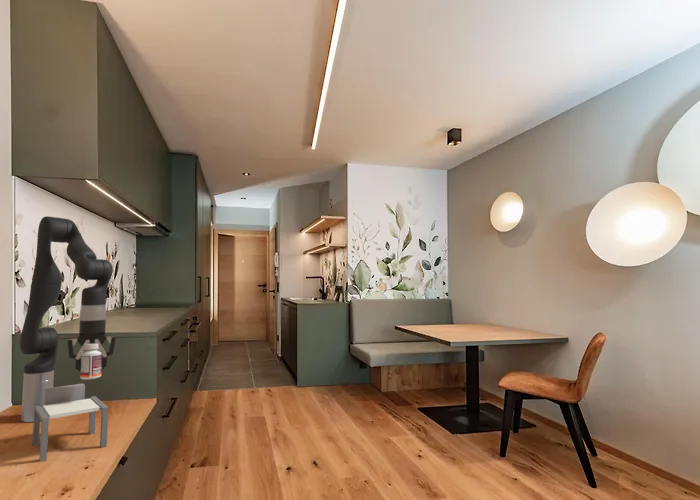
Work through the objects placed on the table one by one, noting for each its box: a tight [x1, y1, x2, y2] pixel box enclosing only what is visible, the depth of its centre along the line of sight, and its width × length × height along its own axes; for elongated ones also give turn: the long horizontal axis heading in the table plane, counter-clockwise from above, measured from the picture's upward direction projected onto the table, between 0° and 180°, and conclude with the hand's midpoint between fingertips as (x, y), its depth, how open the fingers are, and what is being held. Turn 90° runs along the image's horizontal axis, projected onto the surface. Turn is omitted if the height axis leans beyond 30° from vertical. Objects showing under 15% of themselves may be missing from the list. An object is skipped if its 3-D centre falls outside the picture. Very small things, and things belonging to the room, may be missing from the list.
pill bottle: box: [79, 343, 103, 380], centre depth 144 cm, size 6×6×11 cm
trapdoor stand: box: [31, 395, 109, 463], centre depth 136 cm, size 17×17×12 cm
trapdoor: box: [43, 383, 101, 420], centre depth 139 cm, size 19×13×5 cm
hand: (91, 369), depth 144 cm, fingers closed on pill bottle, 6 cm apart
